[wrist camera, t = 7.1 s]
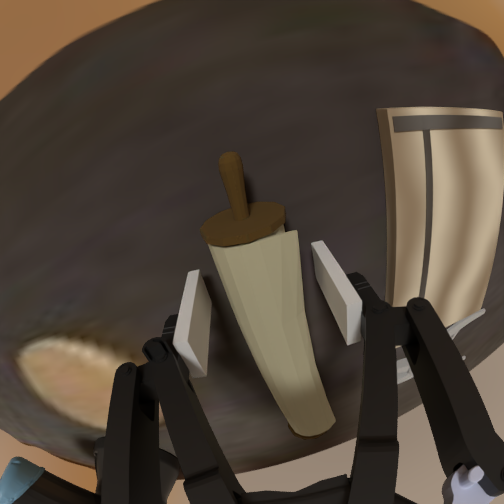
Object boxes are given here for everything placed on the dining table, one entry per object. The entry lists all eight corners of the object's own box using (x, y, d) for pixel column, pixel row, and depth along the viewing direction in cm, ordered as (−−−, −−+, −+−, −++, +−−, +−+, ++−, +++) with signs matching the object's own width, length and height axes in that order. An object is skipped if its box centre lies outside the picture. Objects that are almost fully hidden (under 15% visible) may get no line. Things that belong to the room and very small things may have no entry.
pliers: (467, 364, 28) (379, 402, 29) (462, 357, 30) (375, 393, 30) (489, 312, 24) (393, 354, 24) (482, 305, 25) (387, 343, 26)
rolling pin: (184, 162, 17) (166, 178, 12) (271, 135, 16) (286, 141, 12) (288, 422, 31) (294, 455, 27) (330, 411, 31) (339, 443, 26)
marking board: (381, 340, 25) (387, 351, 23) (375, 108, 15) (387, 109, 14) (473, 302, 24) (480, 310, 23) (490, 109, 15) (502, 111, 13)
